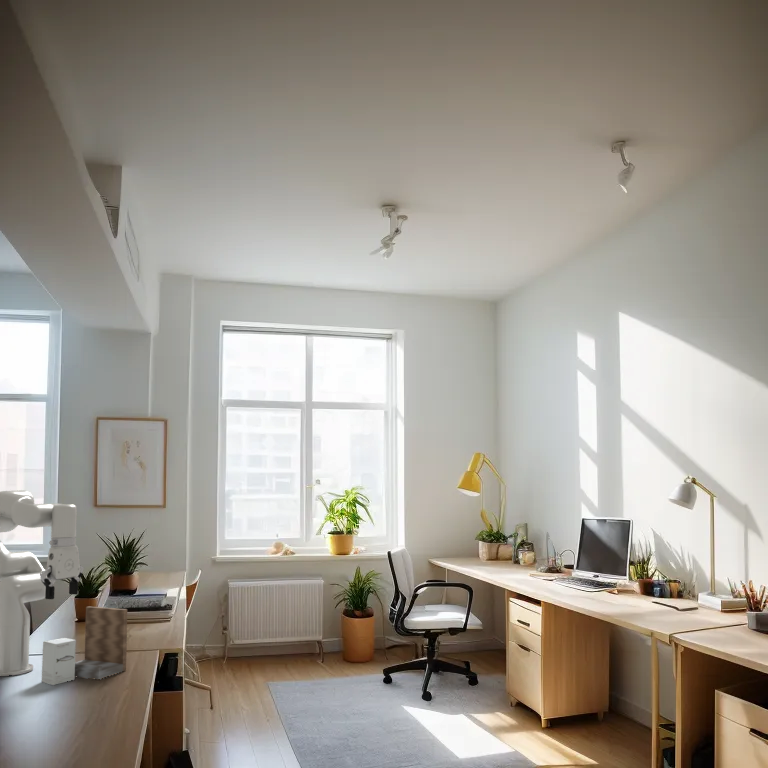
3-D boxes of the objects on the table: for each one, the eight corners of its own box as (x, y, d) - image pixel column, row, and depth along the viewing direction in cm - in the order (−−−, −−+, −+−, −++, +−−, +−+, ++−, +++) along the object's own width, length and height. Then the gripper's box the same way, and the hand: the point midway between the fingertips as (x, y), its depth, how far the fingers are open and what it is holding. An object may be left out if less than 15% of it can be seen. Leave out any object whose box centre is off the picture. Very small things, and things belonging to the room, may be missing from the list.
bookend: (59, 674, 250) (61, 612, 252) (87, 666, 261) (89, 606, 263) (99, 679, 243) (100, 615, 245) (126, 670, 254) (127, 609, 256)
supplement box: (53, 685, 237) (54, 644, 239) (40, 682, 242) (42, 641, 243) (75, 680, 243) (76, 639, 245) (62, 676, 248) (64, 636, 249)
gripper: (50, 545, 238) (48, 601, 236) (92, 540, 254) (90, 593, 252) (33, 545, 241) (31, 600, 239) (75, 540, 257) (73, 591, 255)
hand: (61, 596), depth 246 cm, fingers open, 9 cm apart
